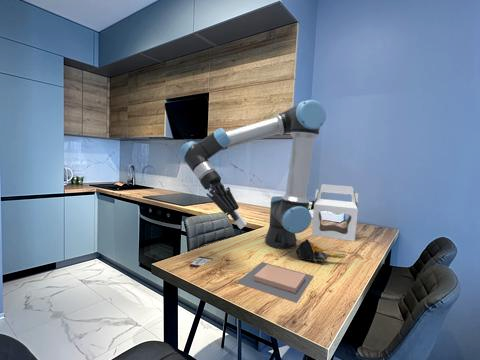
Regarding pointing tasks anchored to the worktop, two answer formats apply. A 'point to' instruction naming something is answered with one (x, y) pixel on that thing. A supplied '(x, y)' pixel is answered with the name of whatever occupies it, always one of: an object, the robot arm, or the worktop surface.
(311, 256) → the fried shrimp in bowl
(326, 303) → the worktop surface
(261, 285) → the mat
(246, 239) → the worktop surface
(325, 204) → the gable box
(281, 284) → the tile
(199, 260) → the chocolate bar
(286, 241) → the robot arm
